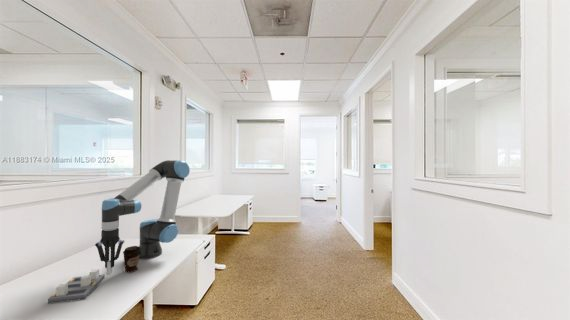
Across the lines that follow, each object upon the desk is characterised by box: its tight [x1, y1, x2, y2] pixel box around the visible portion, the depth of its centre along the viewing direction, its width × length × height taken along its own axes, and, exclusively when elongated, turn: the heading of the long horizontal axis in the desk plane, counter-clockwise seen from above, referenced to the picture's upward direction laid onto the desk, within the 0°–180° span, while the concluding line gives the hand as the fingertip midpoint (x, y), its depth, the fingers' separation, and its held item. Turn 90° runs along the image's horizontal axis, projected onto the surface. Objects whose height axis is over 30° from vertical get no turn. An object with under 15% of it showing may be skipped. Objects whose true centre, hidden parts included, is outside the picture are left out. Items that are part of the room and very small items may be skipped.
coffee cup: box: [122, 245, 140, 274], centre depth 142 cm, size 9×8×13 cm
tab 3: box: [88, 268, 100, 280], centre depth 129 cm, size 3×3×4 cm
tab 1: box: [55, 283, 68, 296], centre depth 113 cm, size 3×3×4 cm
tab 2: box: [81, 275, 91, 287], centre depth 122 cm, size 3×3×4 cm
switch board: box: [47, 273, 106, 304], centre depth 121 cm, size 14×21×2 cm, turn 16°
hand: (109, 273), depth 131 cm, fingers closed
